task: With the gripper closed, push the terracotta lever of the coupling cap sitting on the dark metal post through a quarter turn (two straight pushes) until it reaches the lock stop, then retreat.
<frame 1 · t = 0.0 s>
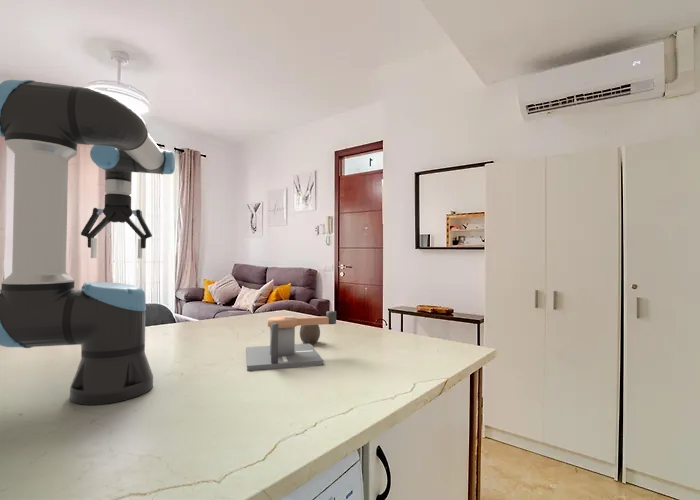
hand: (117, 258, 125), 28 cm above the counter, fingers open, 13 cm apart
vase: (309, 343, 128), on the counter
coupling: (302, 318, 111), point 11 cm above the counter, hinge at 0.0°
post base: (282, 357, 109), on the counter
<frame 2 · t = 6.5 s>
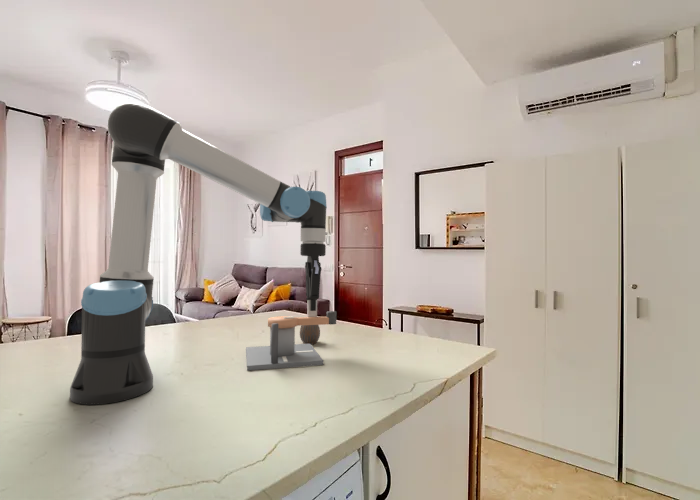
hand: (311, 321, 113), 10 cm above the counter, fingers closed
coupling: (302, 318, 111), point 11 cm above the counter, hinge at 0.8°, touching gripper
everything else where it was.
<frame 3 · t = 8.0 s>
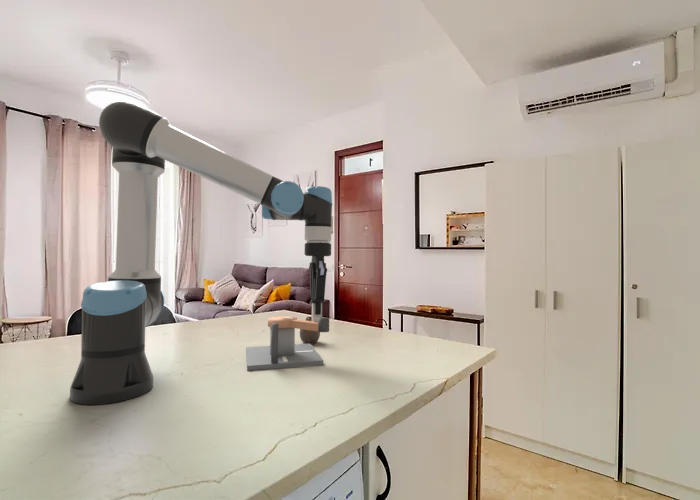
hand: (316, 325, 106), 10 cm above the counter, fingers closed
coupling: (298, 321, 106), point 11 cm above the counter, hinge at 47.2°, touching gripper
everything else where it was.
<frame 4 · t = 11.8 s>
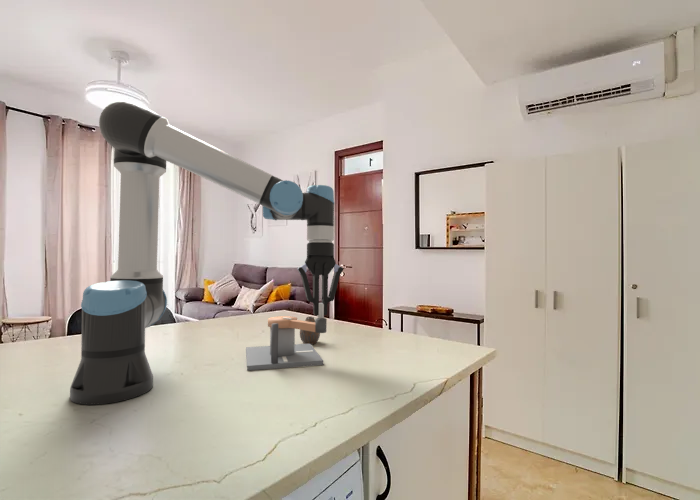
hand: (320, 326, 104), 10 cm above the counter, fingers closed
coupling: (297, 321, 106), point 11 cm above the counter, hinge at 52.2°, touching gripper
everything else where it was.
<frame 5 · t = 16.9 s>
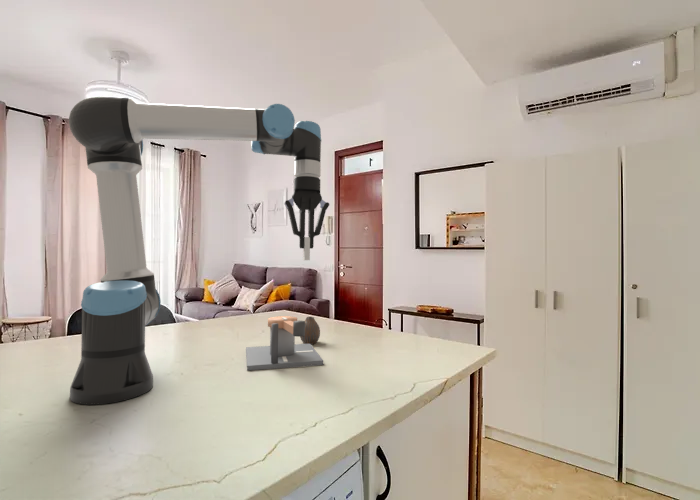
hand: (306, 260, 107), 28 cm above the counter, fingers closed
coupling: (288, 322, 104), point 11 cm above the counter, hinge at 79.6°
everything else where it was.
at the end: coupling at +80° (first picture: +0°); coupling touching nothing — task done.
